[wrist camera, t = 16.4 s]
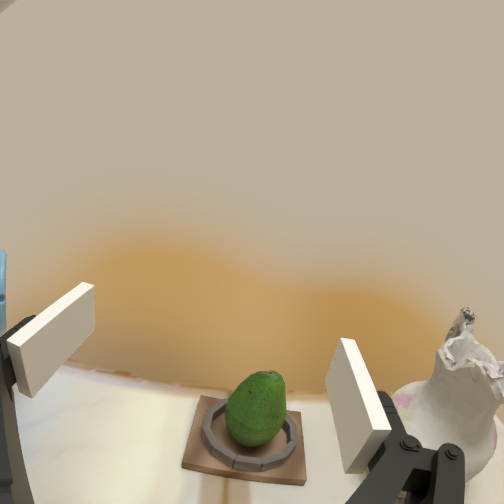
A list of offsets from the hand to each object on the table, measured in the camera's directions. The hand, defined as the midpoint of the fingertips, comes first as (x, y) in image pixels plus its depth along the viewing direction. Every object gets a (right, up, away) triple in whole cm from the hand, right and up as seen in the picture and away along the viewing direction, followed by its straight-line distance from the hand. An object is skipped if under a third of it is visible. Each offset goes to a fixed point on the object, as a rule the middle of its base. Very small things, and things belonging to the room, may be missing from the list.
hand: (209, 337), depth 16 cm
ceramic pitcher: (+27, -29, +22) cm, 45 cm away
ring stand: (+1, -23, +25) cm, 34 cm away
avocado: (+2, -22, +24) cm, 33 cm away
